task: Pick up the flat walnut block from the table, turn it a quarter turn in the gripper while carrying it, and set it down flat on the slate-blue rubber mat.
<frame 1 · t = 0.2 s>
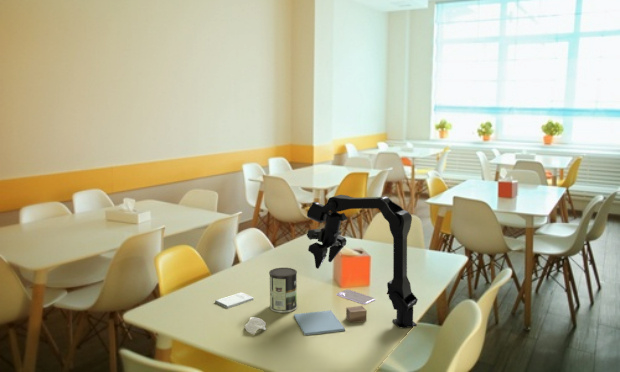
hand: (323, 265, 198), 15 cm above the table, fingers open, 9 cm apart
external hard drive: (234, 302, 202), on the table
mat: (318, 323, 182), on the table
coffee can: (283, 307, 196), on the table
walnut block: (356, 319, 186), on the table
mobile phone: (355, 298, 207), on the table
white crumpled lump: (255, 330, 177), on the table
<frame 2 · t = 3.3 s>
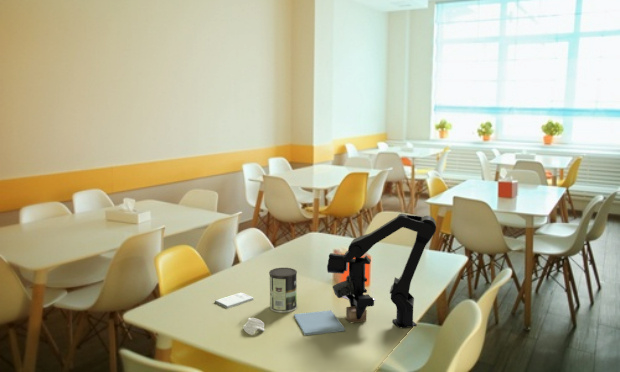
hand: (356, 316, 185), 1 cm above the table, fingers closed on walnut block, 4 cm apart
walnut block: (356, 319, 186), on the table, touching gripper
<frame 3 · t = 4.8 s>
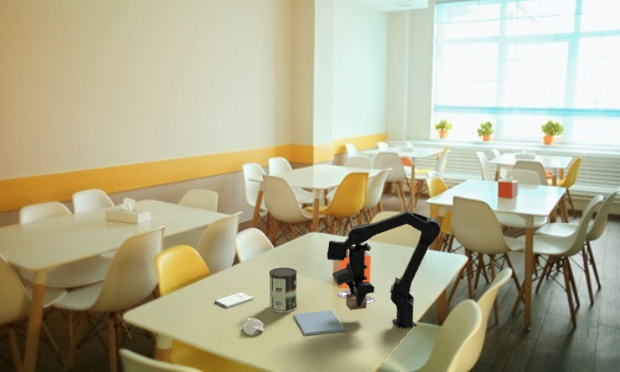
hand: (356, 303, 185), 6 cm above the table, fingers closed on walnut block, 4 cm apart
walnut block: (356, 306, 185), point 5 cm above the table, touching gripper
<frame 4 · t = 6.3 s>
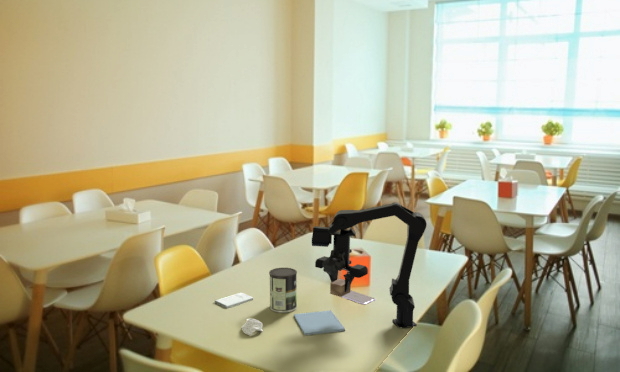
hand: (340, 290, 182), 11 cm above the table, fingers closed on walnut block, 4 cm apart
walnut block: (340, 292, 183), point 10 cm above the table, touching gripper
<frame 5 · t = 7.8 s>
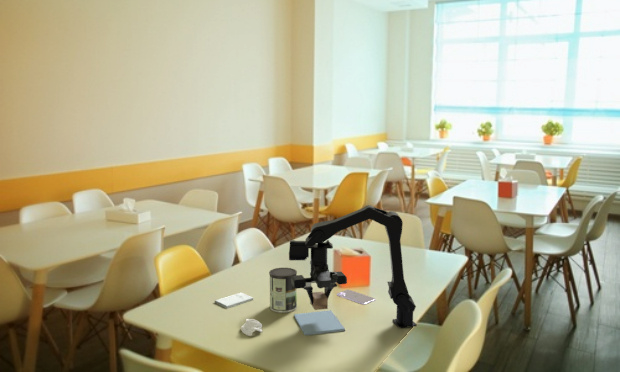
hand: (318, 303, 181), 7 cm above the table, fingers closed on walnut block, 4 cm apart
walnut block: (318, 306, 181), point 6 cm above the table, touching gripper
when the fingers open (3 cm above the table, at t = 9.2 s): walnut block drops 1 cm, resting on mat.
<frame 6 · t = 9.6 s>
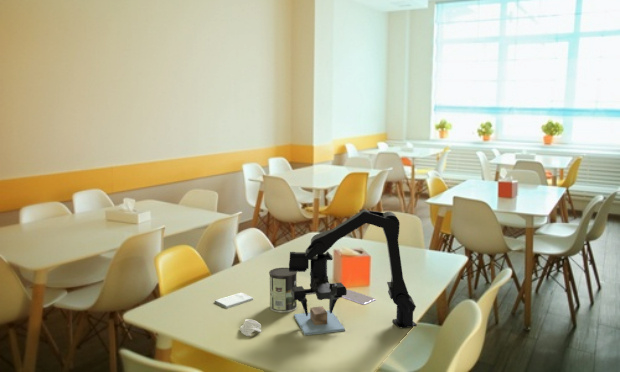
hand: (318, 314, 181), 3 cm above the table, fingers open, 8 cm apart
walnut block: (318, 321, 182), point 1 cm above the table, touching mat
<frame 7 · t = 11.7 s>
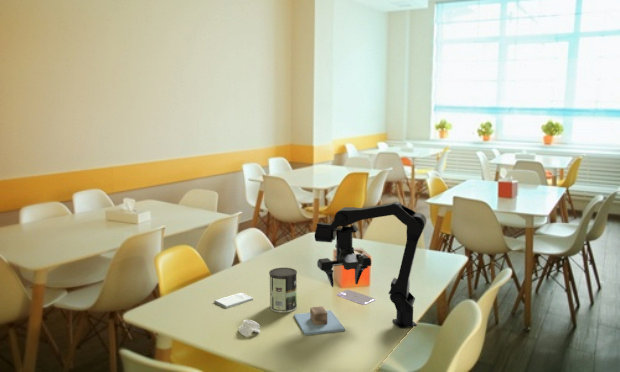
hand: (344, 285, 187), 11 cm above the table, fingers open, 9 cm apart
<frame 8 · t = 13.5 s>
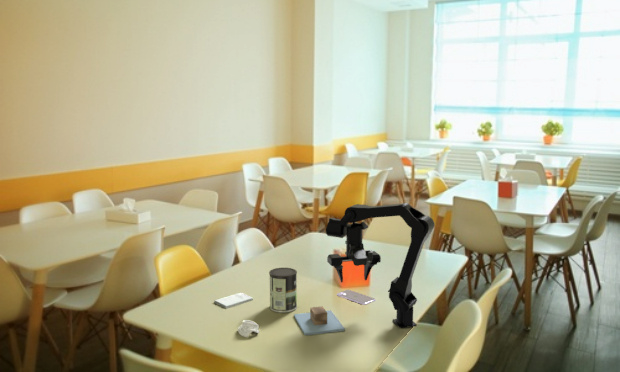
hand: (353, 281, 190), 12 cm above the table, fingers open, 9 cm apart
at the end: walnut block inside the target area on the mat (0.0 cm from its centre), point 0.8 cm above the mat's base; walnut block tilted 0°; the gripper is holding nothing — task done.
